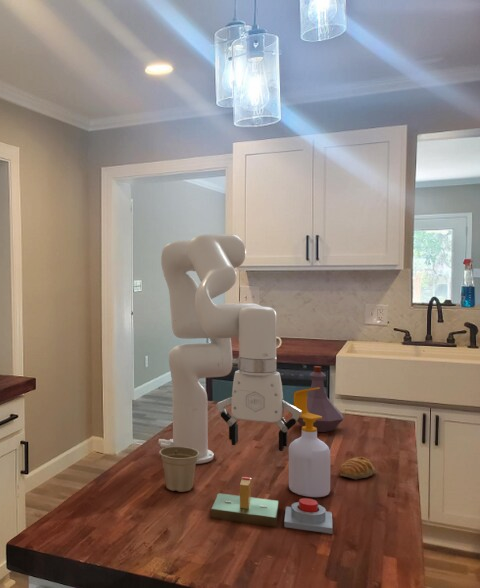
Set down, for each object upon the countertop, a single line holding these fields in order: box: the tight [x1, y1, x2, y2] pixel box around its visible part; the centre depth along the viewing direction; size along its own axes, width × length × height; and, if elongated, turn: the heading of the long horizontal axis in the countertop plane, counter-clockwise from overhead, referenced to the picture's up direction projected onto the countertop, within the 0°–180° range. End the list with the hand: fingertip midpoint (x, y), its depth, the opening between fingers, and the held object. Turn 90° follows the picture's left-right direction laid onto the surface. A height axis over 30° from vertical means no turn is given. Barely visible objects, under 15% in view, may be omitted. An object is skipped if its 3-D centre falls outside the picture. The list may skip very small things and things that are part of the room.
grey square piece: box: [283, 501, 334, 535], centre depth 118 cm, size 9×8×3 cm
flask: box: [297, 365, 344, 433], centre depth 187 cm, size 16×16×20 cm
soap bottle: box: [288, 387, 331, 498], centre depth 135 cm, size 9×9×25 cm
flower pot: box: [159, 446, 199, 493], centre depth 138 cm, size 9×9×9 cm
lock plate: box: [210, 492, 280, 528], centre depth 123 cm, size 13×9×2 cm
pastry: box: [338, 456, 376, 480], centre depth 145 cm, size 9×7×4 cm
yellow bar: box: [239, 476, 252, 509], centre depth 123 cm, size 4×2×5 cm, turn 158°
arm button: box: [298, 497, 319, 512], centre depth 118 cm, size 4×4×2 cm
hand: (257, 446), depth 121 cm, fingers open, 9 cm apart
